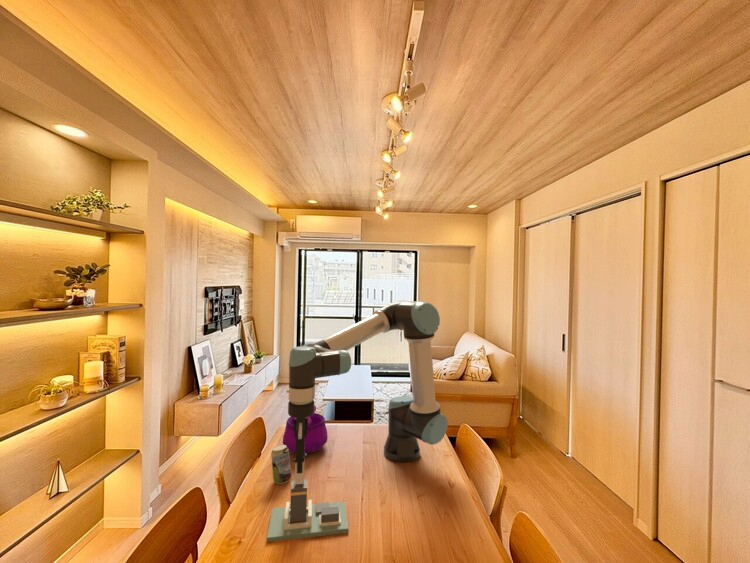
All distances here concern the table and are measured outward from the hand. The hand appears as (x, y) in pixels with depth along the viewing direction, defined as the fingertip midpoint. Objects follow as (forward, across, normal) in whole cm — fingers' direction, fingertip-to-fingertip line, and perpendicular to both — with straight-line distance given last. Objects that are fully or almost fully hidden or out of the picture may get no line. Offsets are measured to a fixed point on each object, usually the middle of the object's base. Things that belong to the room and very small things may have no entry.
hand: (299, 481), depth 96 cm
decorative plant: (+12, -46, +1) cm, 47 cm away
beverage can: (+12, -22, -7) cm, 26 cm away
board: (+12, 0, +3) cm, 12 cm away
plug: (+11, 0, 0) cm, 11 cm away
